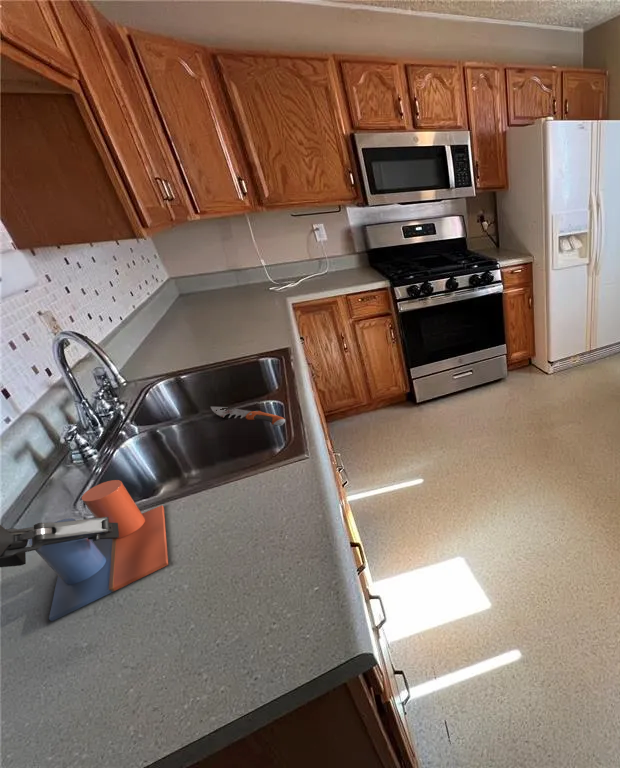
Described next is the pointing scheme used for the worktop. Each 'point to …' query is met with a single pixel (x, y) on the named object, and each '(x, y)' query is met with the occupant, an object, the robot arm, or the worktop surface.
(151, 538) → the sorting board
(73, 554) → the blue canister
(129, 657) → the worktop surface
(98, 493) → the orange canister
